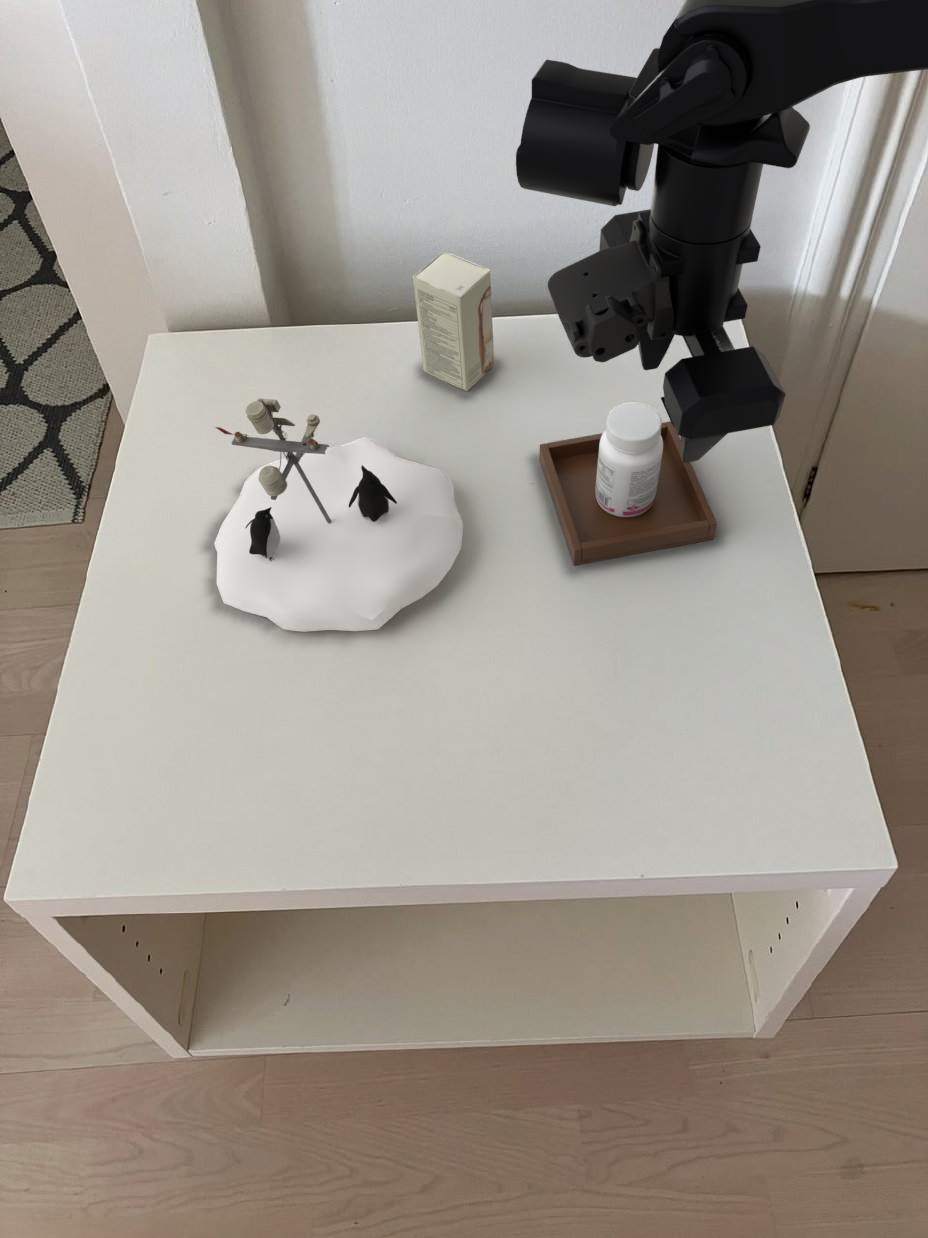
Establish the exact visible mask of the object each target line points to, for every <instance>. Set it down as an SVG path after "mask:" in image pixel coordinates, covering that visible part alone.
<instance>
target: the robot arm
mask: <svg viewBox="0 0 928 1238" xmlns="http://www.w3.org/2000/svg"><path fill="white" fill-rule="evenodd" d="M646 59H647V60H646V61H645V63H644V65H643V66H642V68H641V70H640V72H639V73H638V75H637V77H635V76H631V75H622V74H616V73H610V72H604V71H599V70H598V71H597V70H591V69H585V68H581V67H577V66H575V65H572V64H570V63H568V62H564V61H559V60H554V59H553V60H552V59H545V60H544V61H543V62H542V64H541V65H540V66H539V68H538V69H537V71H536V73H535V74H534V76H533V77H532V79H531V97H530V100H529V104H528V105H527V110H526V113H525V117H524V121H523V126H522V131H521V136H520V137H521V138H520V144H519V145H518V147H517V149H516V152H515V172H516V177H517V182H518V184H519V186H520V188H522V189H524V190H528V191H533V192H539V193H543V194H548V195H549V194H550V195H554V196H559V197H565V198H570V199H574V200H580V201H583V202H590V203H595V204H601V205H606V206H610V207H617V206H621V205H623V202H624V198H625V194H626V191H627V189H628V190H631V191H635V192H639V191H641V189H642V187H643V186H644V183H645V182H646V178H647V176H648V173H649V169H650V166H651V161H652V158H653V154H654V153H653V152H654V148H655V145H657V150H656V159H655V168H654V177H653V185H652V194H651V204H650V208H648V209H643V210H637V211H632V212H625V213H620V214H614V216H612V217H611V219H609V221H608V222H607V223H605V224H604V225H603V227H601V228H600V236H599V250H598V251H597V252H595V253H592V254H589V255H588V256H586V257H584V258H582V259H580V260H578V261H575V262H574V263H571V264H569V265H567V266H565V267H563V268H561V269H559V270H557V271H555V272H554V273H553V274H552V275H551V276H550V277H549V279H548V281H547V290H548V291H549V294H550V297H551V299H552V302H553V305H554V308H555V311H556V313H557V316H558V318H559V321H560V323H561V325H562V327H563V330H564V332H565V334H566V336H567V338H568V341H569V343H570V346H571V348H572V350H573V352H574V354H575V355H576V356H578V357H579V358H590V357H592V358H593V360H594V361H595V362H598V363H605V362H608V361H610V360H612V359H614V358H617V357H619V356H621V355H624V354H625V353H628V352H631V351H632V350H634V349H636V348H637V347H638V352H639V357H640V363H641V367H642V369H643V370H644V371H650V370H656V369H658V368H659V367H660V365H661V363H662V362H663V360H664V358H665V356H666V354H667V352H668V350H669V348H670V346H671V344H672V342H673V339H674V337H675V336H679V337H682V338H683V341H684V343H685V345H686V347H687V349H688V351H689V353H690V355H691V356H689V357H683V358H681V359H680V360H678V361H677V362H676V363H674V364H673V366H671V367H670V368H669V369H668V370H667V371H666V372H665V373H664V376H663V384H662V390H663V396H660V400H661V403H662V405H663V407H664V409H665V412H666V414H667V416H668V418H669V421H671V423H672V425H673V427H674V428H675V429H676V431H677V433H678V435H679V437H680V440H681V455H682V460H683V462H684V463H688V462H690V463H695V462H698V461H700V460H701V459H702V458H703V457H704V456H705V455H706V454H707V453H708V452H709V451H711V450H712V449H713V448H714V447H715V446H716V445H717V444H718V443H719V442H721V440H722V439H724V438H725V437H726V436H727V435H728V434H731V433H738V432H742V431H749V430H753V429H759V428H764V427H770V426H774V425H775V424H776V422H777V421H778V419H779V418H780V416H781V412H782V409H783V405H784V401H785V398H786V391H785V390H784V388H783V386H782V384H781V382H780V380H779V379H778V377H777V375H776V373H775V371H774V369H773V367H772V366H771V364H770V362H769V360H768V358H767V356H766V355H765V354H764V353H763V352H761V351H760V350H759V349H758V348H757V347H755V346H753V345H752V346H747V347H740V348H735V347H734V345H733V342H732V341H731V338H730V337H729V335H728V333H727V331H726V329H725V327H724V323H729V322H733V321H739V320H744V319H746V315H747V310H748V307H749V306H748V305H749V304H748V303H747V301H746V299H745V297H744V295H743V294H742V292H741V290H740V287H739V284H740V279H741V275H742V270H743V265H745V264H750V263H755V262H758V261H759V256H760V251H761V244H760V242H759V241H758V239H757V237H756V235H755V233H754V232H753V231H752V229H751V227H752V222H753V215H754V211H755V207H756V201H757V198H758V197H757V196H758V193H759V187H760V183H761V177H762V172H763V168H764V165H766V166H773V167H779V168H785V169H791V168H794V167H795V166H796V165H797V163H798V160H799V158H800V155H801V153H802V150H803V147H804V145H805V143H806V140H807V138H808V134H809V132H810V129H811V125H810V123H809V121H808V120H807V119H806V118H805V117H804V116H803V115H802V114H801V113H800V112H799V111H798V110H796V109H795V108H794V107H795V106H797V105H798V104H800V103H803V102H805V101H807V100H808V99H811V98H813V97H814V96H816V95H818V94H820V93H822V92H824V91H826V90H828V89H830V88H832V87H833V86H836V85H839V84H842V83H847V82H849V81H850V82H851V81H853V80H857V79H860V78H866V77H874V76H881V75H889V74H898V73H900V74H901V73H908V72H909V73H910V72H917V71H927V70H928V0H683V1H682V3H681V5H680V6H679V8H678V10H677V12H676V13H675V15H674V17H673V18H672V20H671V22H670V24H669V26H668V28H667V29H666V30H665V33H664V35H663V37H662V40H661V43H660V45H659V46H658V47H656V48H653V49H652V51H651V52H650V54H649V56H648V58H646Z"/></svg>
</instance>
